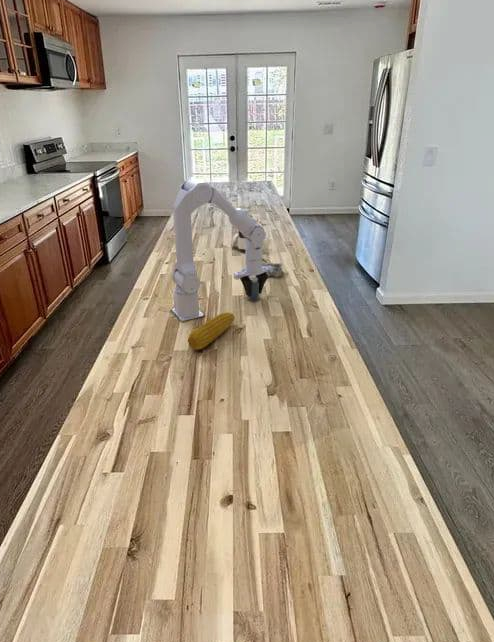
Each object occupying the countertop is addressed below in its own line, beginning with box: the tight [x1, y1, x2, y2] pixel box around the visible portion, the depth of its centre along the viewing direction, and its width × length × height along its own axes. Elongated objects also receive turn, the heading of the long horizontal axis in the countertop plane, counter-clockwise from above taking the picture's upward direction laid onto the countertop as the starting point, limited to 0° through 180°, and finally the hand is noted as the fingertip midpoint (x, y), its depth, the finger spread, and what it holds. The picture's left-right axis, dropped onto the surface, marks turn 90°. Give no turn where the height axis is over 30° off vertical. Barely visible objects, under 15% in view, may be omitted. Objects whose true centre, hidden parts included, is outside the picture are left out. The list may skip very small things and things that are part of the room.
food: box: [187, 311, 235, 351], centre depth 131 cm, size 21×6×6 cm, turn 149°
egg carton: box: [262, 261, 283, 278], centre depth 176 cm, size 11×8×4 cm
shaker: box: [247, 276, 260, 302], centre depth 154 cm, size 4×4×8 cm
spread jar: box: [230, 230, 246, 253], centre depth 202 cm, size 12×11×12 cm
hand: (253, 294), depth 155 cm, fingers closed on shaker, 4 cm apart
